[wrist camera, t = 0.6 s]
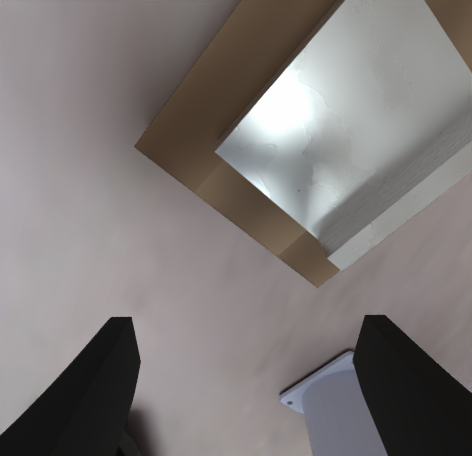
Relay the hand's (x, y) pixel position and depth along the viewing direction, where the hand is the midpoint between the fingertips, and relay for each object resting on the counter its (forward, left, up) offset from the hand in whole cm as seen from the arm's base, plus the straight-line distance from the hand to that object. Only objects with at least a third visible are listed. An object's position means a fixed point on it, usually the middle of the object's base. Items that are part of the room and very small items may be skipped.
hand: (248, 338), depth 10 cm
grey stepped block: (0, -7, -7) cm, 9 cm away
